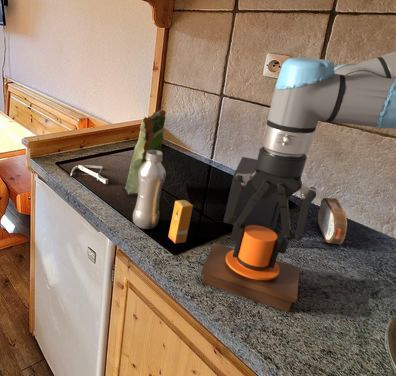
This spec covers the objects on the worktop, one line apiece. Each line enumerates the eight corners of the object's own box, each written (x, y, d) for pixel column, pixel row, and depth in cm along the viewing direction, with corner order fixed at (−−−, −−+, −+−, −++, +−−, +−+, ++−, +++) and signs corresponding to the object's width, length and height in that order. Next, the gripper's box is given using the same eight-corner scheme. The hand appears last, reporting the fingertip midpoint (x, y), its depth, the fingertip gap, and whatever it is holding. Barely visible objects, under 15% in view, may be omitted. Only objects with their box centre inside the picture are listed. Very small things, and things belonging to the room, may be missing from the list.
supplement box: (187, 242, 97) (194, 205, 93) (174, 244, 96) (181, 207, 92) (180, 235, 100) (186, 199, 96) (167, 236, 99) (173, 200, 95)
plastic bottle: (138, 216, 108) (147, 145, 99) (162, 224, 104) (173, 152, 96) (127, 226, 103) (135, 152, 95) (151, 235, 100) (162, 159, 91)
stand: (294, 282, 84) (299, 267, 82) (291, 314, 75) (297, 297, 74) (210, 257, 92) (213, 242, 90) (199, 283, 83) (202, 267, 81)
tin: (341, 251, 95) (353, 220, 92) (326, 248, 96) (337, 217, 93) (326, 221, 108) (335, 193, 105) (312, 219, 109) (322, 191, 106)
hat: (280, 260, 83) (290, 228, 80) (277, 286, 75) (287, 253, 72) (230, 245, 88) (237, 215, 84) (221, 269, 80) (229, 237, 77)
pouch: (153, 184, 127) (164, 105, 116) (167, 201, 116) (181, 116, 106) (119, 185, 126) (127, 106, 115) (130, 203, 115) (139, 117, 104)
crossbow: (62, 173, 135) (62, 167, 135) (92, 166, 141) (92, 160, 141) (90, 188, 123) (90, 182, 122) (122, 180, 129) (122, 174, 128)
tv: (277, 212, 112) (291, 165, 106) (272, 236, 101) (287, 185, 95) (232, 201, 117) (242, 156, 112) (222, 222, 106) (233, 174, 100)
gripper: (223, 145, 72) (200, 253, 82) (348, 168, 64) (306, 285, 74) (230, 135, 78) (208, 236, 88) (346, 154, 70) (307, 264, 80)
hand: (253, 258), depth 81 cm, fingers closed on hat, 6 cm apart
